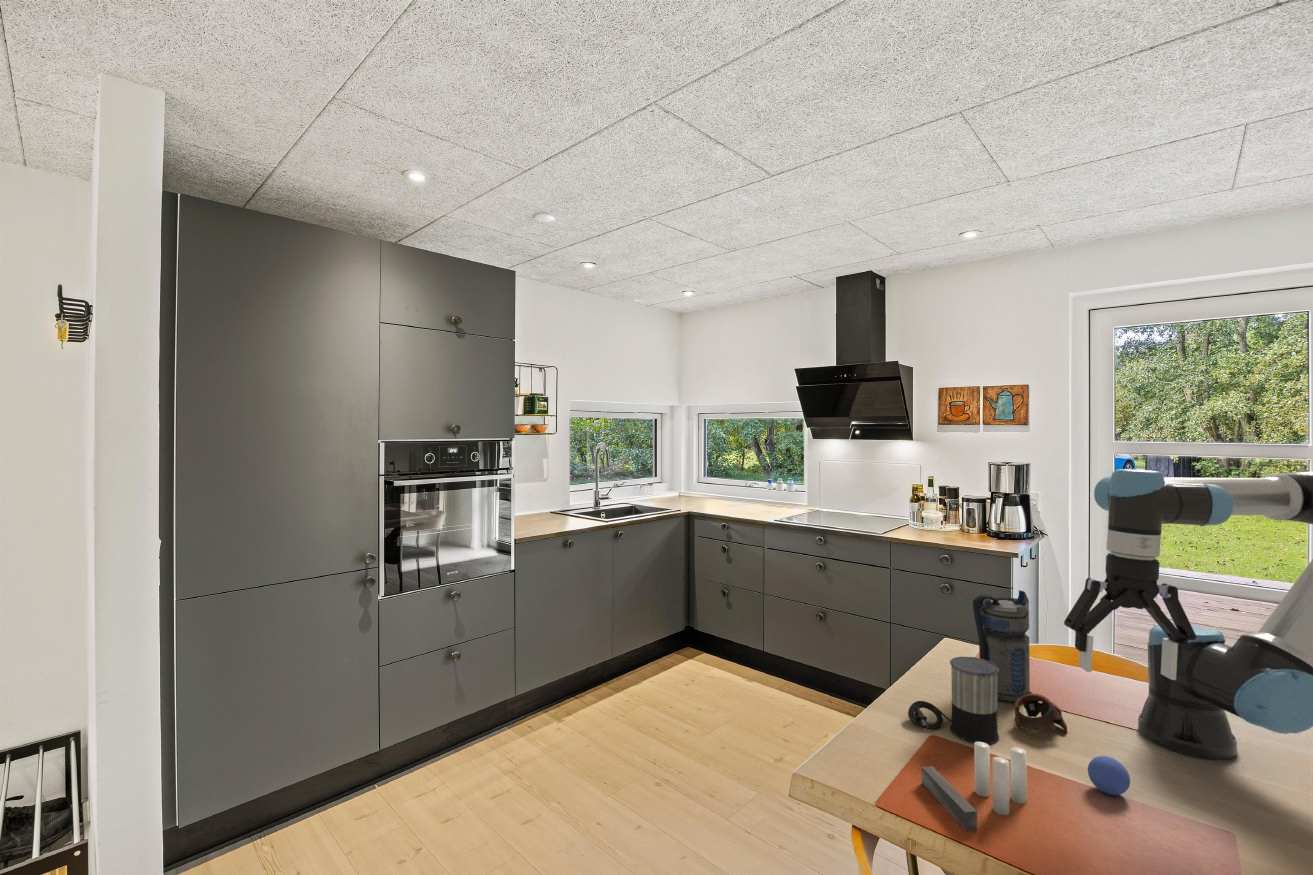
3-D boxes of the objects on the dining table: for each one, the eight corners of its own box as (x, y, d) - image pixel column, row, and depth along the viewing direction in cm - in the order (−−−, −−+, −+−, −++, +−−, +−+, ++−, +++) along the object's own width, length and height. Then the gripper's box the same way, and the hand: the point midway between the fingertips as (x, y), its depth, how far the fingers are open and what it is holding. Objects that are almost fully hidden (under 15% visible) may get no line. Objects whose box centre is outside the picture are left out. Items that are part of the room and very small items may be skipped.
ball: (1109, 780, 109) (1109, 748, 109) (1139, 801, 103) (1139, 766, 103) (1079, 783, 108) (1079, 750, 108) (1107, 803, 102) (1107, 769, 102)
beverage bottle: (962, 687, 149) (962, 587, 148) (1013, 684, 150) (1013, 585, 149) (988, 705, 139) (987, 598, 138) (1042, 703, 140) (1042, 596, 139)
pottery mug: (1081, 742, 123) (1067, 712, 121) (1036, 758, 125) (1022, 729, 123) (1048, 702, 135) (1035, 674, 133) (1007, 717, 136) (993, 690, 135)
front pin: (1020, 794, 105) (1019, 746, 105) (1030, 802, 103) (1029, 753, 103) (1007, 795, 105) (1007, 747, 105) (1016, 803, 103) (1016, 754, 103)
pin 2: (1003, 805, 102) (1002, 756, 102) (1012, 814, 100) (1012, 764, 100) (989, 806, 102) (989, 757, 102) (999, 815, 100) (998, 765, 100)
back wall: (932, 782, 109) (932, 765, 109) (977, 829, 96) (977, 811, 96) (921, 783, 109) (921, 766, 109) (965, 830, 96) (965, 812, 96)
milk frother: (1010, 743, 122) (1009, 671, 122) (940, 751, 120) (939, 677, 120) (964, 711, 136) (963, 646, 136) (900, 717, 134) (899, 651, 134)
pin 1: (984, 788, 107) (983, 741, 107) (993, 796, 105) (992, 748, 105) (971, 789, 107) (971, 742, 107) (980, 797, 105) (979, 749, 105)
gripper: (1068, 554, 106) (1061, 673, 106) (1227, 565, 102) (1220, 688, 102) (1046, 546, 113) (1041, 658, 113) (1194, 556, 109) (1188, 671, 110)
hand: (1126, 673), depth 108 cm, fingers open, 13 cm apart
